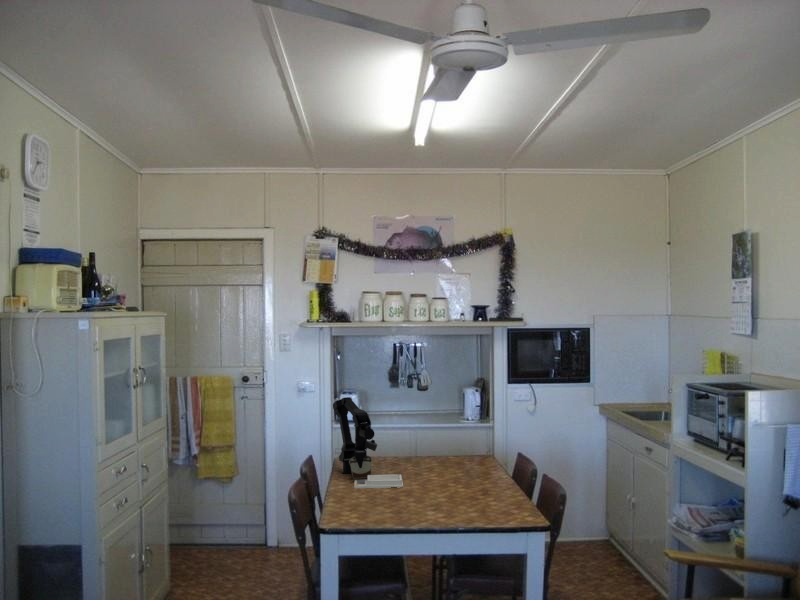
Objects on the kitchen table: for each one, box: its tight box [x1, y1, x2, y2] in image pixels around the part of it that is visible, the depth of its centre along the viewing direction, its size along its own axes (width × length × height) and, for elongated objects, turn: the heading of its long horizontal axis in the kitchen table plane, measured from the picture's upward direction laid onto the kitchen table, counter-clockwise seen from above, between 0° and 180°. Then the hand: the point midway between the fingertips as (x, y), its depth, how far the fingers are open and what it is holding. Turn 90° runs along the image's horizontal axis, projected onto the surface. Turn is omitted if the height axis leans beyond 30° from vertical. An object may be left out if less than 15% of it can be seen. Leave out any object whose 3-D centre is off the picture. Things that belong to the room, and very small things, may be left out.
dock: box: [353, 474, 404, 489], centre depth 320 cm, size 12×24×4 cm, turn 93°
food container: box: [349, 455, 374, 480], centre depth 333 cm, size 12×6×10 cm, turn 92°
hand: (360, 466), depth 332 cm, fingers closed on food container, 6 cm apart
